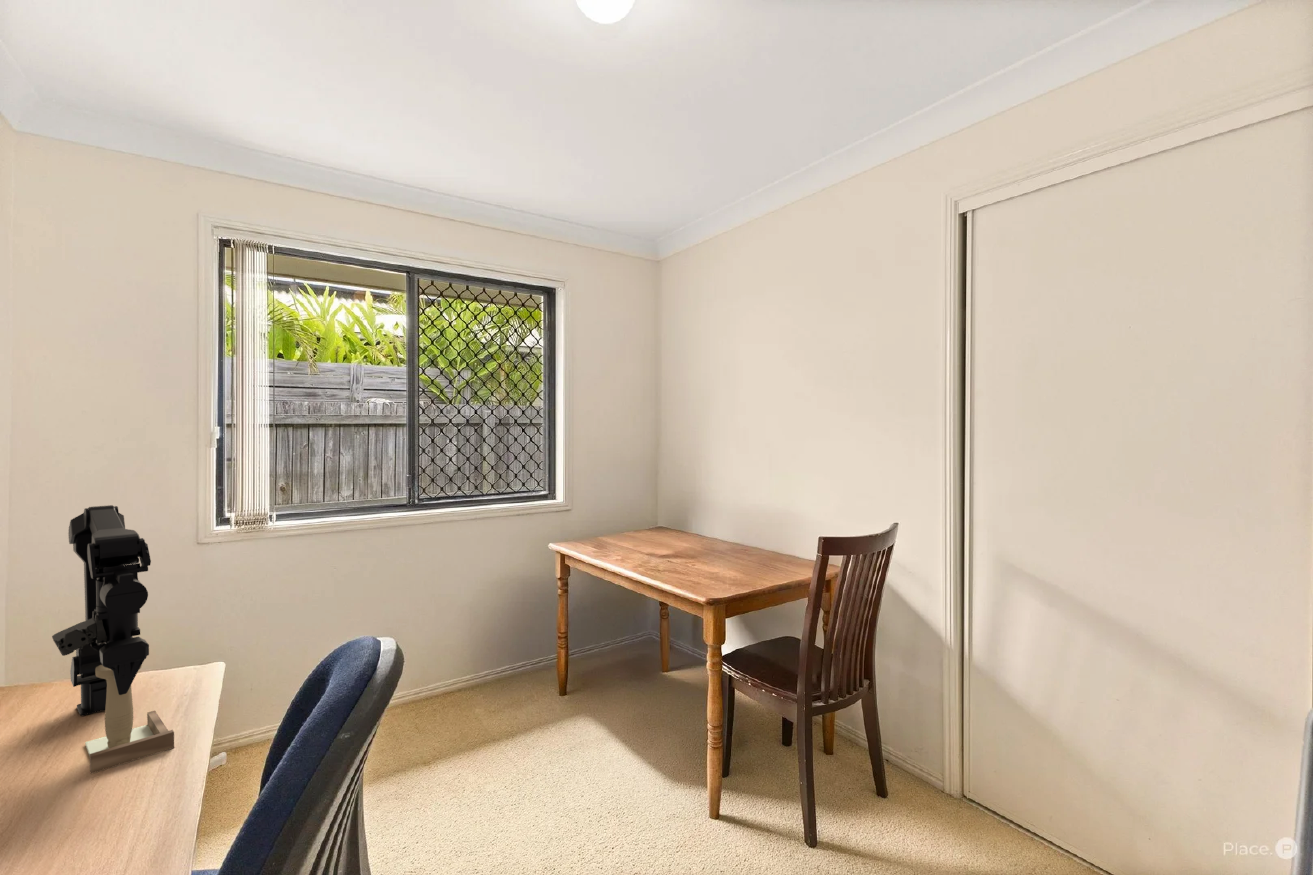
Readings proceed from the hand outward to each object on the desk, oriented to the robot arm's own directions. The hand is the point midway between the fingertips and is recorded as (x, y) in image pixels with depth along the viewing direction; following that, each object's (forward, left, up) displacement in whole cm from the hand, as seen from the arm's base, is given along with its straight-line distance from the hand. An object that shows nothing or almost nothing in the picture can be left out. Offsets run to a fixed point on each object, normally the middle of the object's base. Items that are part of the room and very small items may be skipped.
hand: (118, 686), depth 113 cm
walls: (0, 0, -12) cm, 12 cm away
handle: (0, 0, -11) cm, 11 cm away
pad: (0, 0, -12) cm, 12 cm away
